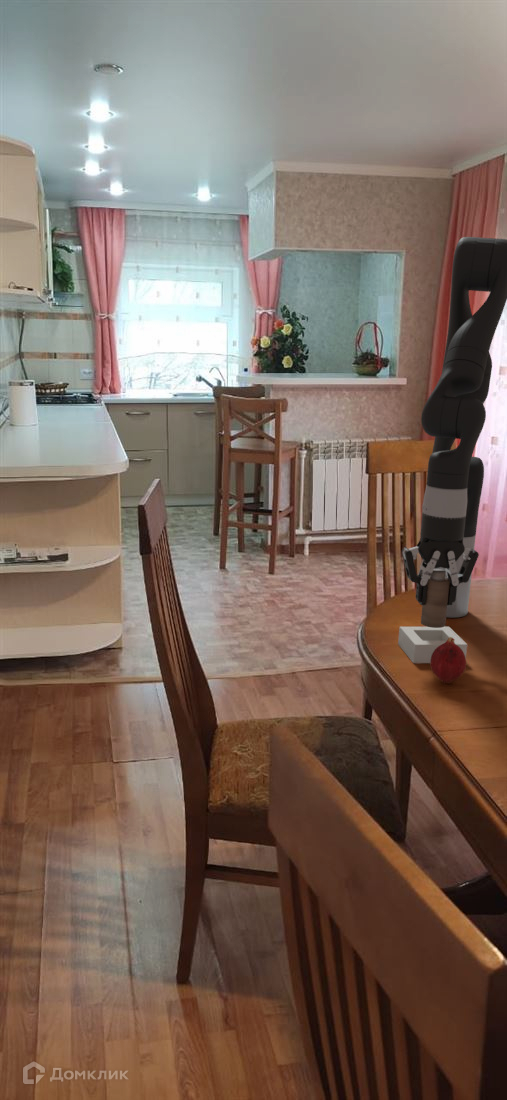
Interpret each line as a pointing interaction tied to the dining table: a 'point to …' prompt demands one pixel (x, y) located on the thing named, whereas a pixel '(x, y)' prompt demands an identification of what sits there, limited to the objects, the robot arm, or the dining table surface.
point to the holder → (426, 641)
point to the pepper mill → (436, 600)
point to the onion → (448, 661)
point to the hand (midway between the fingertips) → (435, 603)
